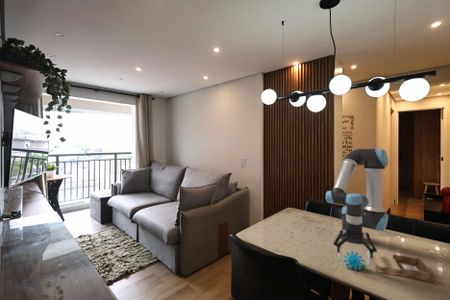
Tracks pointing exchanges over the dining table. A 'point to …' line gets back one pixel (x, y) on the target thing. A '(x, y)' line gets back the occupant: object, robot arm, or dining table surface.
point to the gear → (354, 261)
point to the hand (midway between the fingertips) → (354, 261)
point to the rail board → (402, 267)
